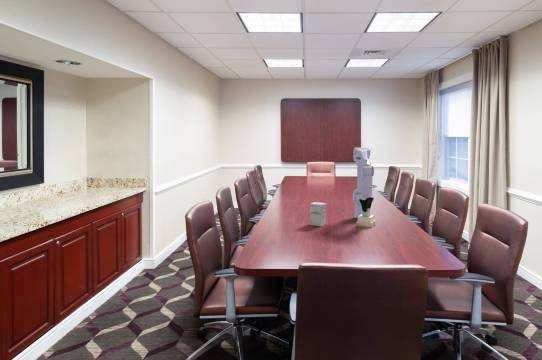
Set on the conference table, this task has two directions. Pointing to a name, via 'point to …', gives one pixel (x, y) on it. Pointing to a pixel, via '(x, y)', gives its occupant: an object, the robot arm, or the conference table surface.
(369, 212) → the sage capsule
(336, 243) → the conference table surface
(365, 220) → the top slab
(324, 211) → the supplement box
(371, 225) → the base slab
